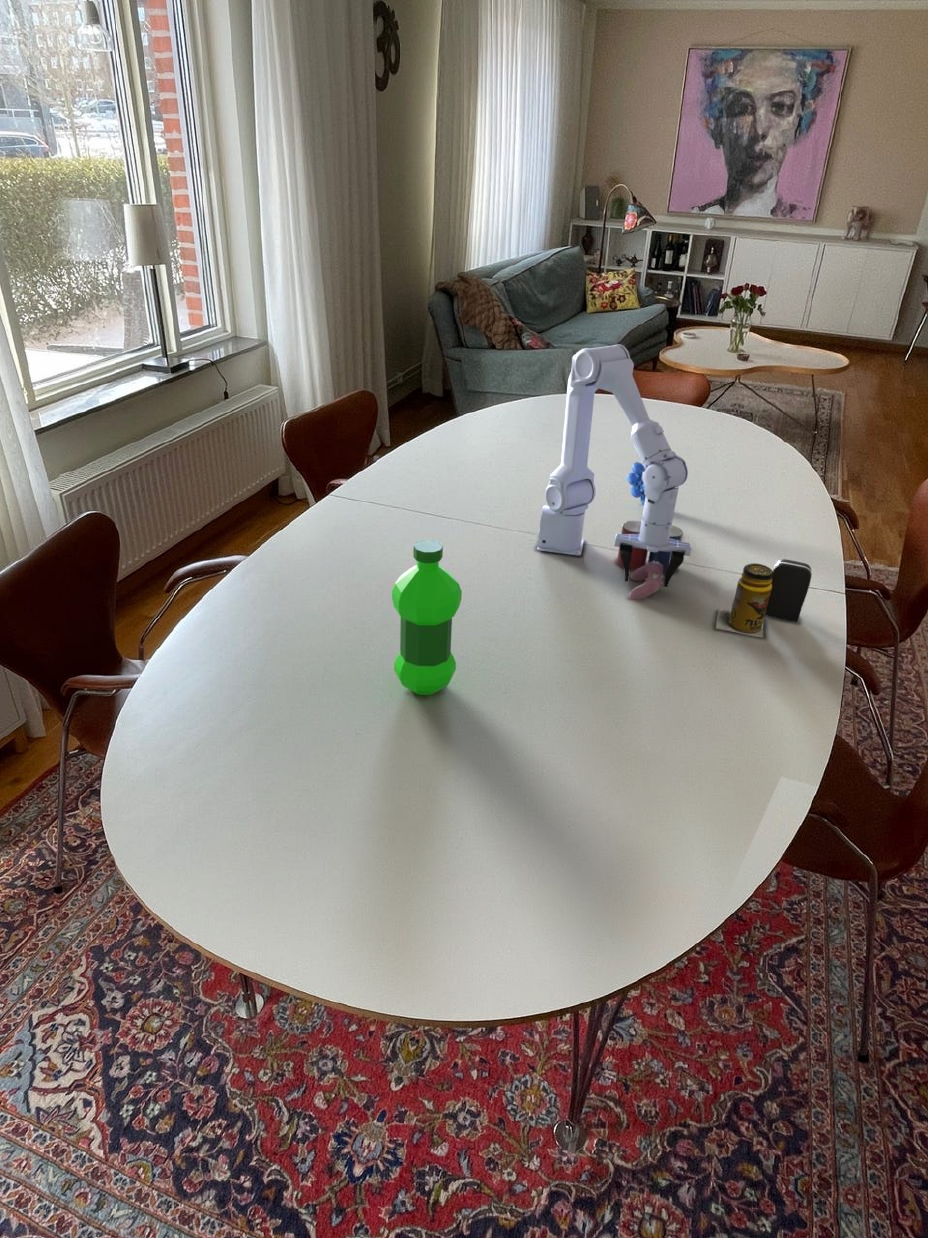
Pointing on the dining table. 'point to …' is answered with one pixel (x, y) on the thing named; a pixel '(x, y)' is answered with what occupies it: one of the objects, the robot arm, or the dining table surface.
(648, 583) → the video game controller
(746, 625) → the condiment
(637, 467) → the blue flower
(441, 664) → the plastic bottle
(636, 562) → the tin can burgundy
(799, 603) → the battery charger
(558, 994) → the dining table surface
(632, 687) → the dining table surface
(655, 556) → the tin can navy
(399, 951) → the dining table surface
